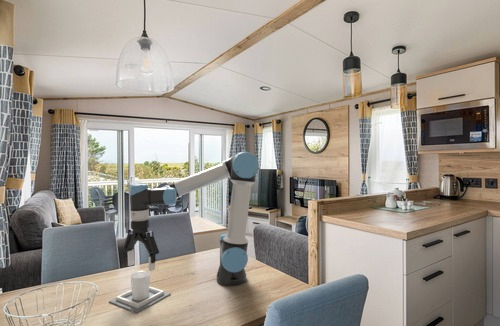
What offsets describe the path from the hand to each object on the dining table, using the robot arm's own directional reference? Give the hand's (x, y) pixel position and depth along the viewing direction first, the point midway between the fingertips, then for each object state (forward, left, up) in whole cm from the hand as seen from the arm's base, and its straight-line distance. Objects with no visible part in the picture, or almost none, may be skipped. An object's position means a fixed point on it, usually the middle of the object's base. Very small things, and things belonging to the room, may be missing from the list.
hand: (141, 267), depth 123 cm
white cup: (0, 0, -13) cm, 13 cm away
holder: (0, 0, -14) cm, 14 cm away
